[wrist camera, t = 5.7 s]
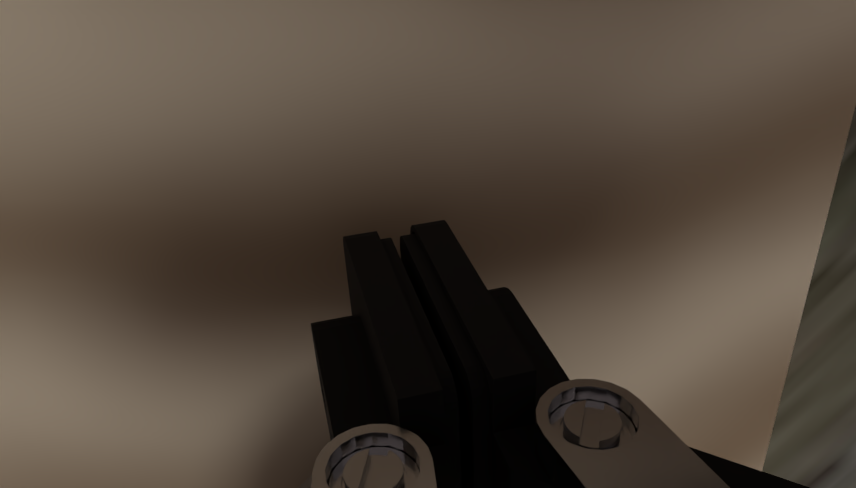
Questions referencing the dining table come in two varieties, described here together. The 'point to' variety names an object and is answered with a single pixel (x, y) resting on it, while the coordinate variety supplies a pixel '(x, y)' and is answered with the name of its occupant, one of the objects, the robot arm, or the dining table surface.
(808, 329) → the dining table surface
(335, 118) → the wooden recessed tray
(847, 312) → the dining table surface
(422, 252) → the robot arm
